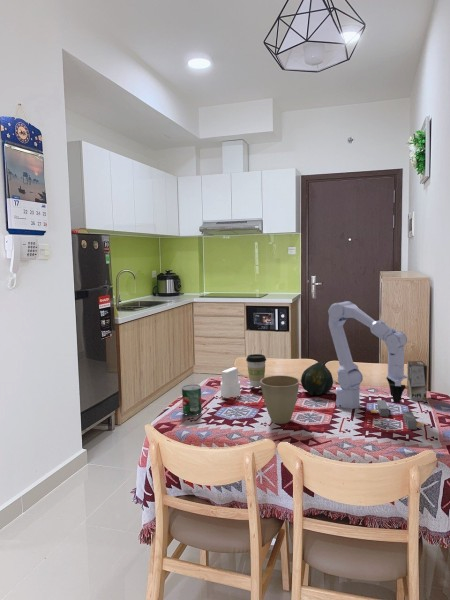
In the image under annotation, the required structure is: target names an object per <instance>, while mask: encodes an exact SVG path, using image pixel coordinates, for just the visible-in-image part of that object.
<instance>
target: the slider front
mask: <svg viewBox="0 0 450 600" xmlns="http://www.w3.org/2000/svg"><path fill="white" fill-rule="evenodd" d="M412 412H413V411H407V410H404V411H402V413H403V414H402V417H403V418H402V419H403V422H404V423H405V426H406V428H407V430H417V429H418V426H417V423H418V421H417V419H416V416H415V414H413V413H412Z"/></svg>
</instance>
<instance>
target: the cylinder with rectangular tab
mask: <svg viewBox="0 0 450 600" xmlns="http://www.w3.org/2000/svg"><path fill="white" fill-rule="evenodd" d="M221 395H222V396H224V397H236V398H238V397H237V396H239V395H240V396H241V381H240V380H239V371H238V367H234V366H233V367H230V368H227V369H225V370H223V371H221V381H220V396H221ZM222 396H221V397H222ZM240 396H239V397H240ZM224 397H223V398H224Z"/></svg>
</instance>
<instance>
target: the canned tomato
mask: <svg viewBox="0 0 450 600" xmlns="http://www.w3.org/2000/svg"><path fill="white" fill-rule="evenodd" d="M181 397H182V398H181V399H182V402H181V403H182V414H183V413H184V414H187V415H197V414H200V413H201V412H203V411H202V409H203V408H202V386H201V385H198V384H186V385H183V386H182V387H181ZM184 414H183V415H184ZM201 414H202V413H201ZM201 414H200V415H201ZM197 416H198V415H197Z"/></svg>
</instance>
